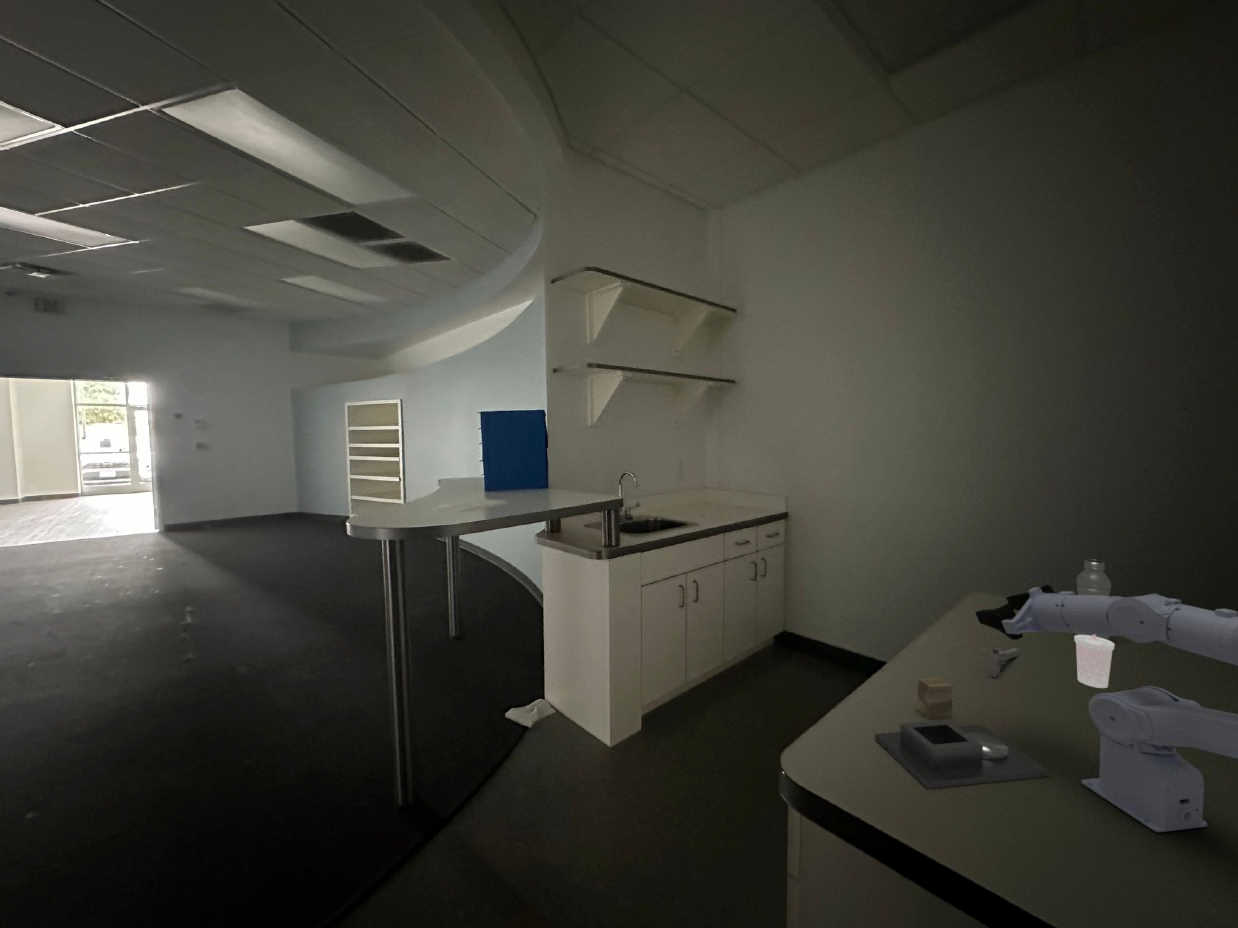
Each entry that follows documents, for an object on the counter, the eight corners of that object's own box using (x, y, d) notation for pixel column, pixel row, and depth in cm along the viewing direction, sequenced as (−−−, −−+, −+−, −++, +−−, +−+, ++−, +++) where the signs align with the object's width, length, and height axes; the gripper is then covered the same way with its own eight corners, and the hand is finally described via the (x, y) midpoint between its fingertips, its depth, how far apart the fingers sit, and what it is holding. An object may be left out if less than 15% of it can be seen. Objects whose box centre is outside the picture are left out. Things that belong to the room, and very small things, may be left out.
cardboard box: (951, 716, 91) (952, 685, 91) (929, 718, 90) (929, 686, 90) (939, 708, 94) (939, 677, 94) (917, 710, 93) (918, 679, 93)
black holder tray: (1048, 776, 75) (1049, 750, 75) (927, 788, 72) (927, 762, 72) (981, 730, 87) (981, 707, 86) (875, 739, 84) (875, 716, 84)
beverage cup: (1117, 692, 99) (1120, 624, 98) (1076, 685, 102) (1079, 618, 101) (1107, 679, 104) (1110, 614, 103) (1069, 673, 107) (1071, 609, 107)
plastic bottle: (1083, 643, 122) (1086, 563, 121) (1068, 633, 129) (1070, 557, 128) (1116, 646, 121) (1119, 565, 120) (1098, 635, 127) (1101, 558, 126)
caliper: (995, 680, 105) (996, 651, 105) (989, 678, 106) (990, 649, 105) (1020, 653, 118) (1021, 627, 118) (1015, 651, 119) (1016, 626, 118)
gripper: (1095, 573, 79) (1013, 574, 92) (1031, 604, 75) (955, 601, 88) (1116, 616, 78) (1030, 612, 91) (1052, 650, 74) (972, 641, 87)
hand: (994, 609), depth 89 cm, fingers open, 7 cm apart
